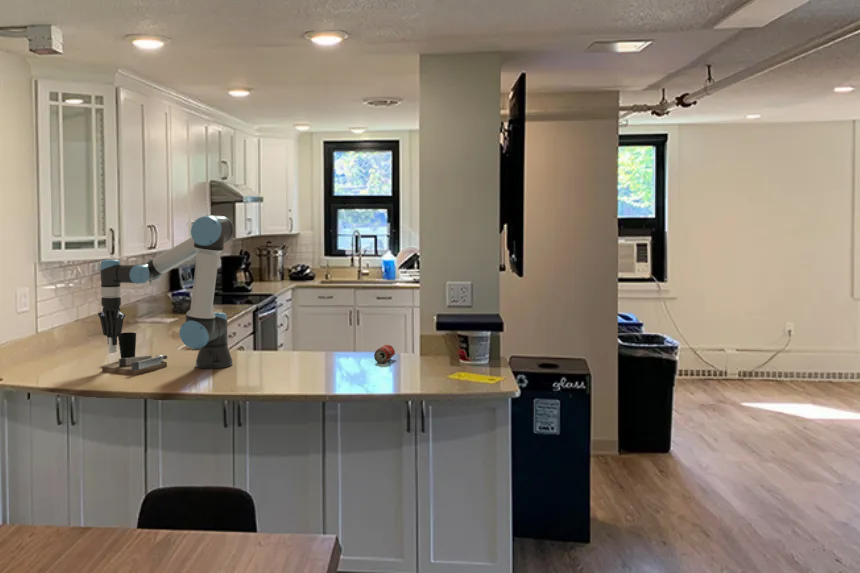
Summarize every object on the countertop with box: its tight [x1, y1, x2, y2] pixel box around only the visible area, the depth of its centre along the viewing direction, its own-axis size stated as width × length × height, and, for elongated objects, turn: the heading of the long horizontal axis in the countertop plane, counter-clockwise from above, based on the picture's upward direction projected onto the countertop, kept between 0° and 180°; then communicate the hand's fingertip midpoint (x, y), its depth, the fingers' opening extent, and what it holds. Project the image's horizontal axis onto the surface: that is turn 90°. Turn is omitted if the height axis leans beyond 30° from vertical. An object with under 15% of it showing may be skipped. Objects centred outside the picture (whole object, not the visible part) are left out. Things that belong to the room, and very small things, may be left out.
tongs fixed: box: [132, 354, 168, 370], centre depth 315 cm, size 4×20×3 cm, turn 156°
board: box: [101, 361, 168, 376], centre depth 318 cm, size 18×18×2 cm
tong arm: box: [118, 354, 153, 366], centre depth 317 cm, size 1×13×3 cm, turn 126°
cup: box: [117, 331, 137, 359], centre depth 336 cm, size 8×8×12 cm
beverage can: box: [373, 344, 396, 364], centre depth 332 cm, size 7×12×7 cm, turn 168°
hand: (112, 352), depth 317 cm, fingers closed
